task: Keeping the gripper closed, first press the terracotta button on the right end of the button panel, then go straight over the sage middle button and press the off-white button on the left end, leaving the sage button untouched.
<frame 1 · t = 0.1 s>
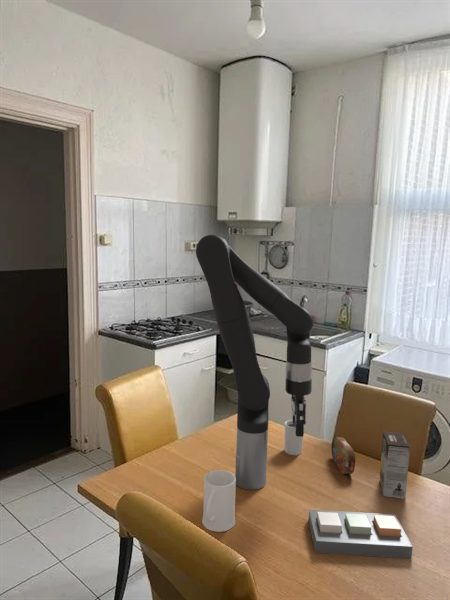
hand: (297, 429, 128), 17 cm above the table, tool pointing down, fingers open, 8 cm apart
sage button: (357, 526, 107), point 3 cm above the table, slide at 0.0 cm
white cup: (293, 451, 151), on the table
offwhite button: (328, 524, 107), point 3 cm above the table, slide at 0.0 cm
coffee box: (391, 490, 129), on the table
button panel: (356, 538, 107), on the table
terracotta button: (386, 527, 106), point 3 cm above the table, slide at 0.0 cm
mug: (215, 525, 111), on the table
tin: (342, 467, 142), on the table
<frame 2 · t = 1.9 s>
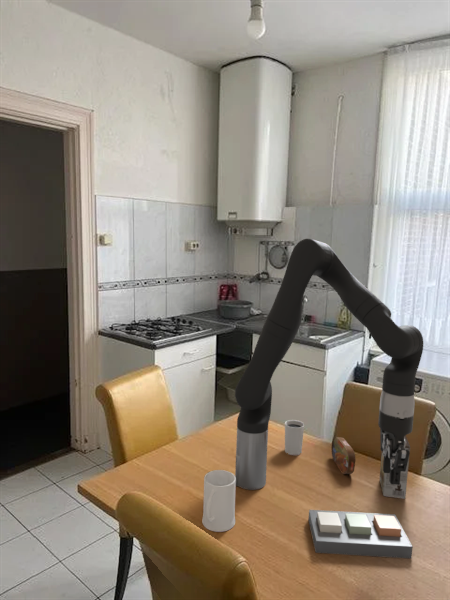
hand: (390, 477, 105), 16 cm above the table, tool pointing down, fingers open, 4 cm apart
nothing on the table moved.
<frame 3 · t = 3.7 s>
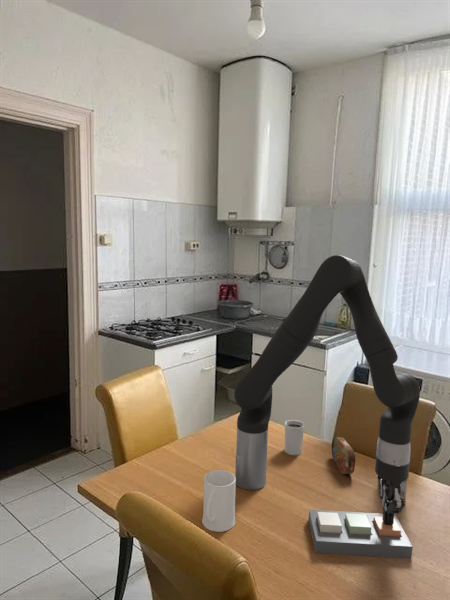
hand: (387, 523, 106), 4 cm above the table, tool pointing down, fingers closed
terracotta button: (386, 529, 106), point 3 cm above the table, slide at 0.4 cm, touching gripper
everything else where it was.
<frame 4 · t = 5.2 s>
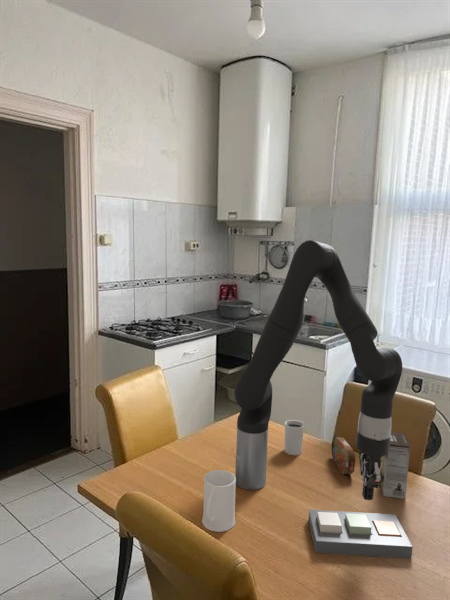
hand: (367, 498, 106), 10 cm above the table, tool pointing down, fingers closed
terracotta button: (386, 533, 107), point 2 cm above the table, slide at 1.5 cm
everything else where it was.
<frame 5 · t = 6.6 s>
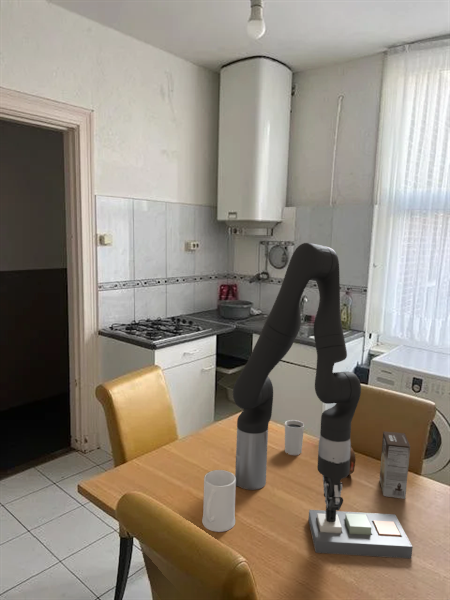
hand: (330, 520, 107), 4 cm above the table, tool pointing down, fingers closed
offwhite button: (328, 526, 107), point 3 cm above the table, slide at 0.4 cm, touching gripper
everything else where it was.
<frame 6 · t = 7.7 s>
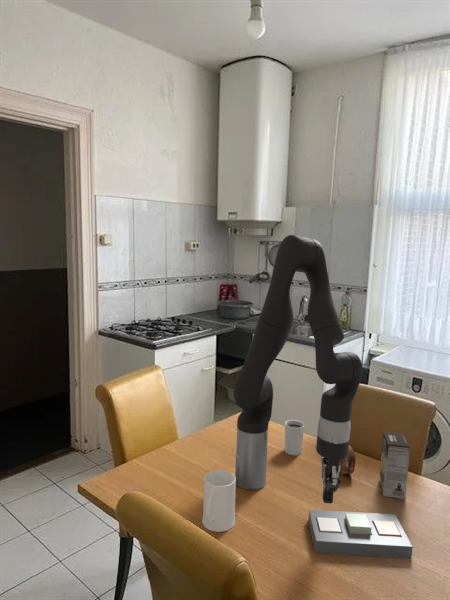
hand: (327, 501, 106), 9 cm above the table, tool pointing down, fingers closed
offwhite button: (328, 530, 107), point 2 cm above the table, slide at 1.5 cm
everything else where it was.
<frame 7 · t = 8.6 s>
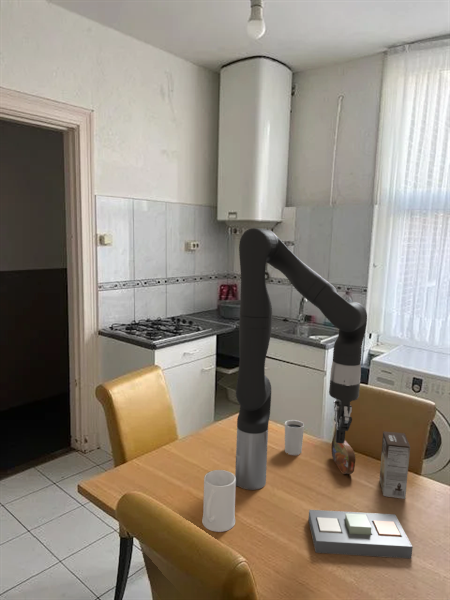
hand: (339, 442, 115), 20 cm above the table, tool pointing down, fingers closed
nothing on the table moved.
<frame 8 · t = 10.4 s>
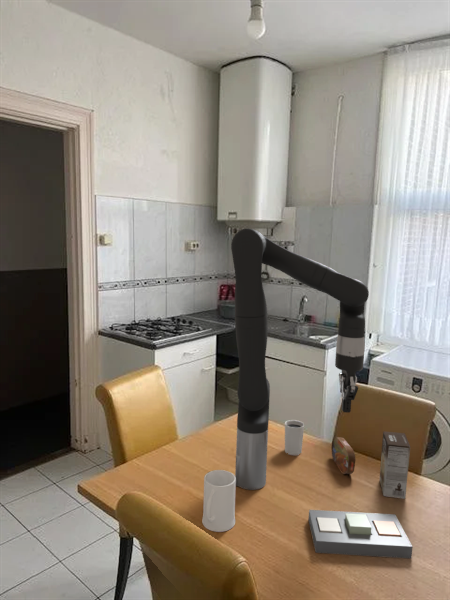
hand: (345, 411, 123), 25 cm above the table, tool pointing down, fingers closed
nothing on the table moved.
at the end: terracotta button slide at 1.5 cm; offwhite button slide at 1.5 cm; sage button slide at 0.0 cm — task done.
